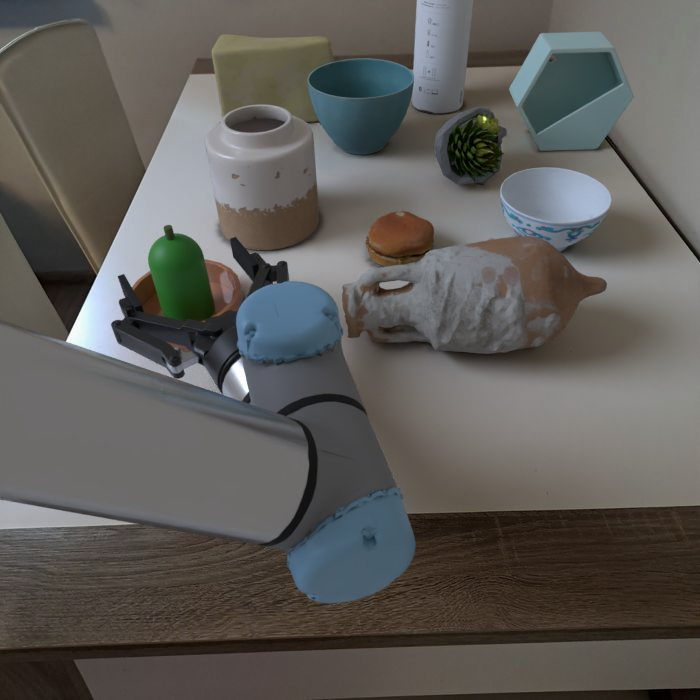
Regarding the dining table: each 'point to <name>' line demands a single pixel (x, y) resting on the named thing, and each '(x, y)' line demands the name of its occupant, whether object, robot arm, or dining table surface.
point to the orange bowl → (222, 288)
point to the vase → (264, 176)
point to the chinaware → (554, 204)
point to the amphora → (472, 297)
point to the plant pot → (361, 101)
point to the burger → (399, 239)
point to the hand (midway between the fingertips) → (180, 265)
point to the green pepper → (180, 277)
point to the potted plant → (470, 146)
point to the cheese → (268, 71)
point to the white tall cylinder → (441, 54)
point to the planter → (571, 90)
